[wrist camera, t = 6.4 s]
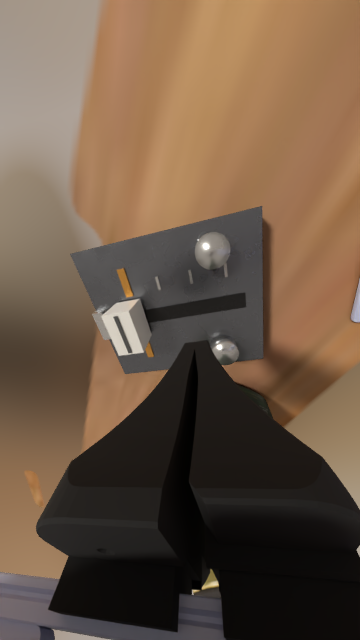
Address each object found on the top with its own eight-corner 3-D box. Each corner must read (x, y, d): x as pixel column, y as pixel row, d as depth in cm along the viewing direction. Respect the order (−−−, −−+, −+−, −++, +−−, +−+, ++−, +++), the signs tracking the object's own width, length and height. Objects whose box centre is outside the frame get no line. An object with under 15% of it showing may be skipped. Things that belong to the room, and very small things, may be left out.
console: (253, 209, 14) (269, 202, 11) (257, 347, 20) (268, 367, 17) (83, 252, 17) (58, 255, 14) (130, 363, 23) (120, 382, 20)
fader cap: (139, 298, 16) (128, 311, 13) (151, 334, 18) (143, 353, 15) (116, 303, 16) (100, 316, 14) (130, 338, 18) (118, 356, 15)
